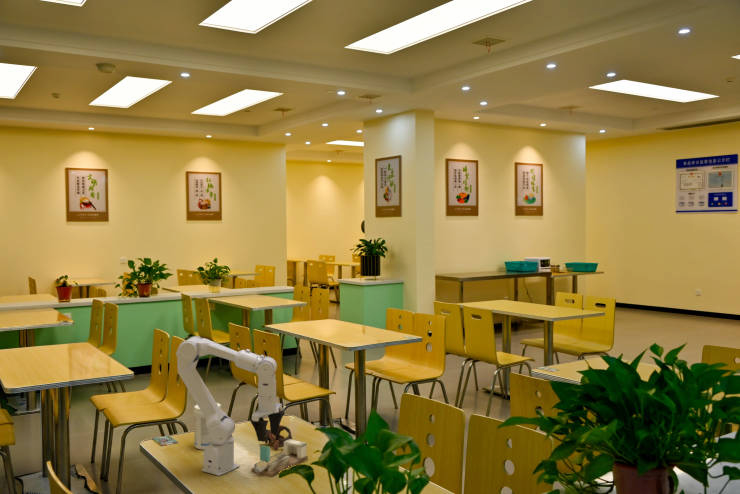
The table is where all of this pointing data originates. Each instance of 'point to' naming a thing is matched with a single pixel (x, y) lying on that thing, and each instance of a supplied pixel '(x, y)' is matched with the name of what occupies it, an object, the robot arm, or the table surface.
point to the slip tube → (266, 458)
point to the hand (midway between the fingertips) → (267, 437)
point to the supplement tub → (201, 429)
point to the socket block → (295, 448)
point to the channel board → (281, 465)
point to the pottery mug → (277, 437)
